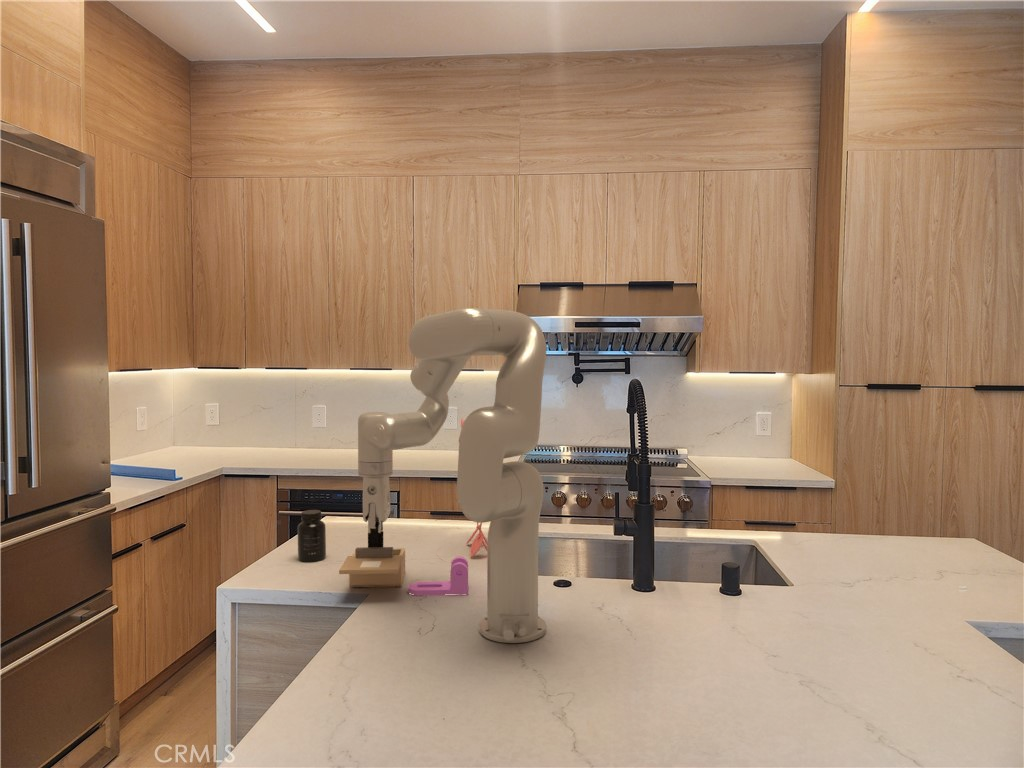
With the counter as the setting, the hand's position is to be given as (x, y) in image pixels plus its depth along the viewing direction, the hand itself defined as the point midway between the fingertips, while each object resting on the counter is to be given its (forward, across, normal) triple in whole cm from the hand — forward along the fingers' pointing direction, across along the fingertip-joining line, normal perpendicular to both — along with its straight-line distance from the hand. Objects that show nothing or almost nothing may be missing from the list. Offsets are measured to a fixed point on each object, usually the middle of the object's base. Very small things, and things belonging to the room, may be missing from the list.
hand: (375, 549), depth 153 cm
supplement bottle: (+9, +21, +19) cm, 30 cm away
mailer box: (+8, +3, 0) cm, 9 cm away
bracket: (+8, -4, -14) cm, 17 cm away
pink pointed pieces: (+8, +25, -19) cm, 33 cm away
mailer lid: (+2, -6, 0) cm, 6 cm away
